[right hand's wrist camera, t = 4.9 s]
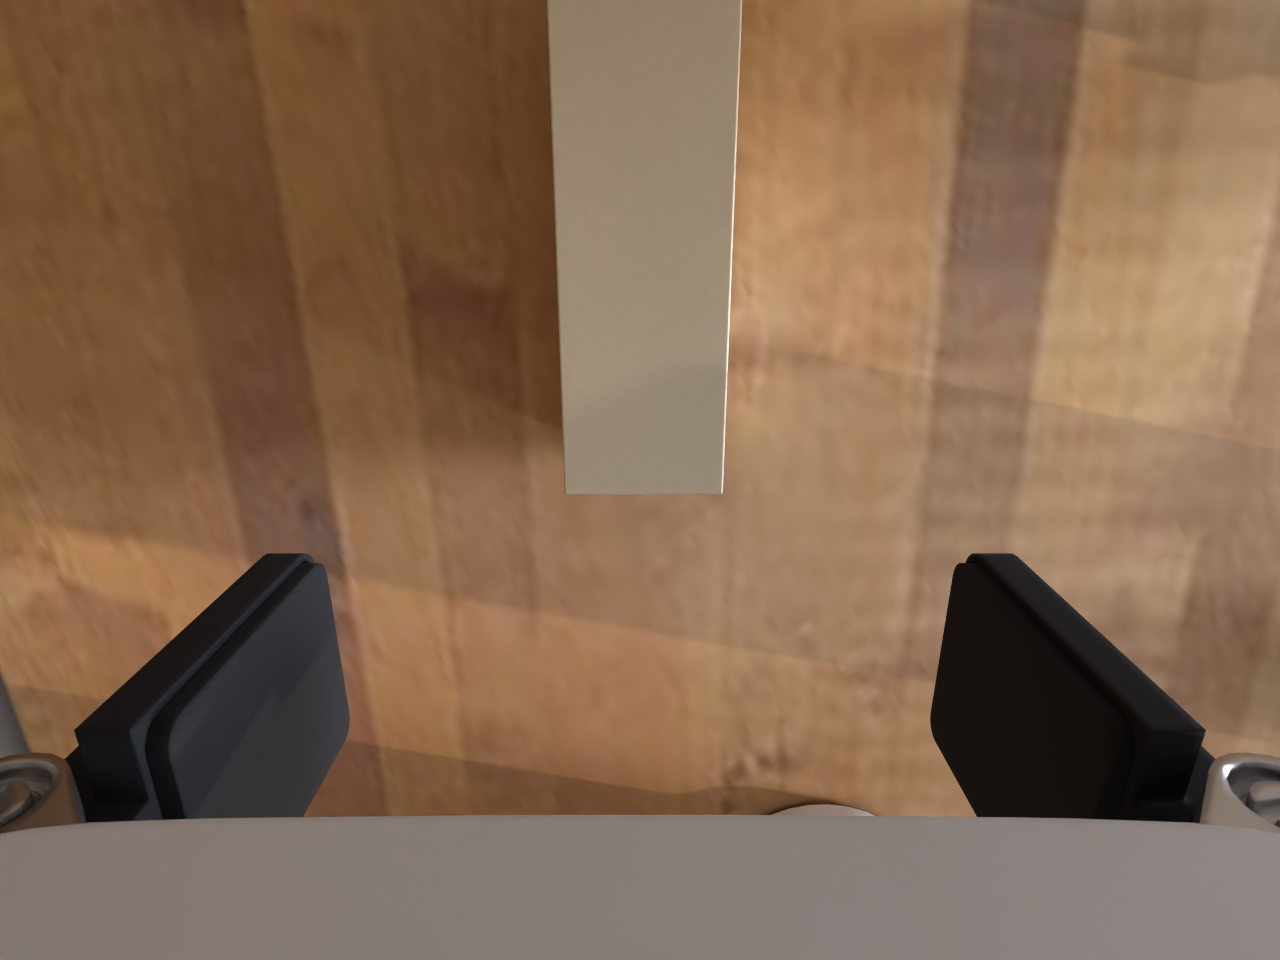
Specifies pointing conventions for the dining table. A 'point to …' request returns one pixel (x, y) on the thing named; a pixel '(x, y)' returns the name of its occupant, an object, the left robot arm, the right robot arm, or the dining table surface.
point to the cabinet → (644, 238)
